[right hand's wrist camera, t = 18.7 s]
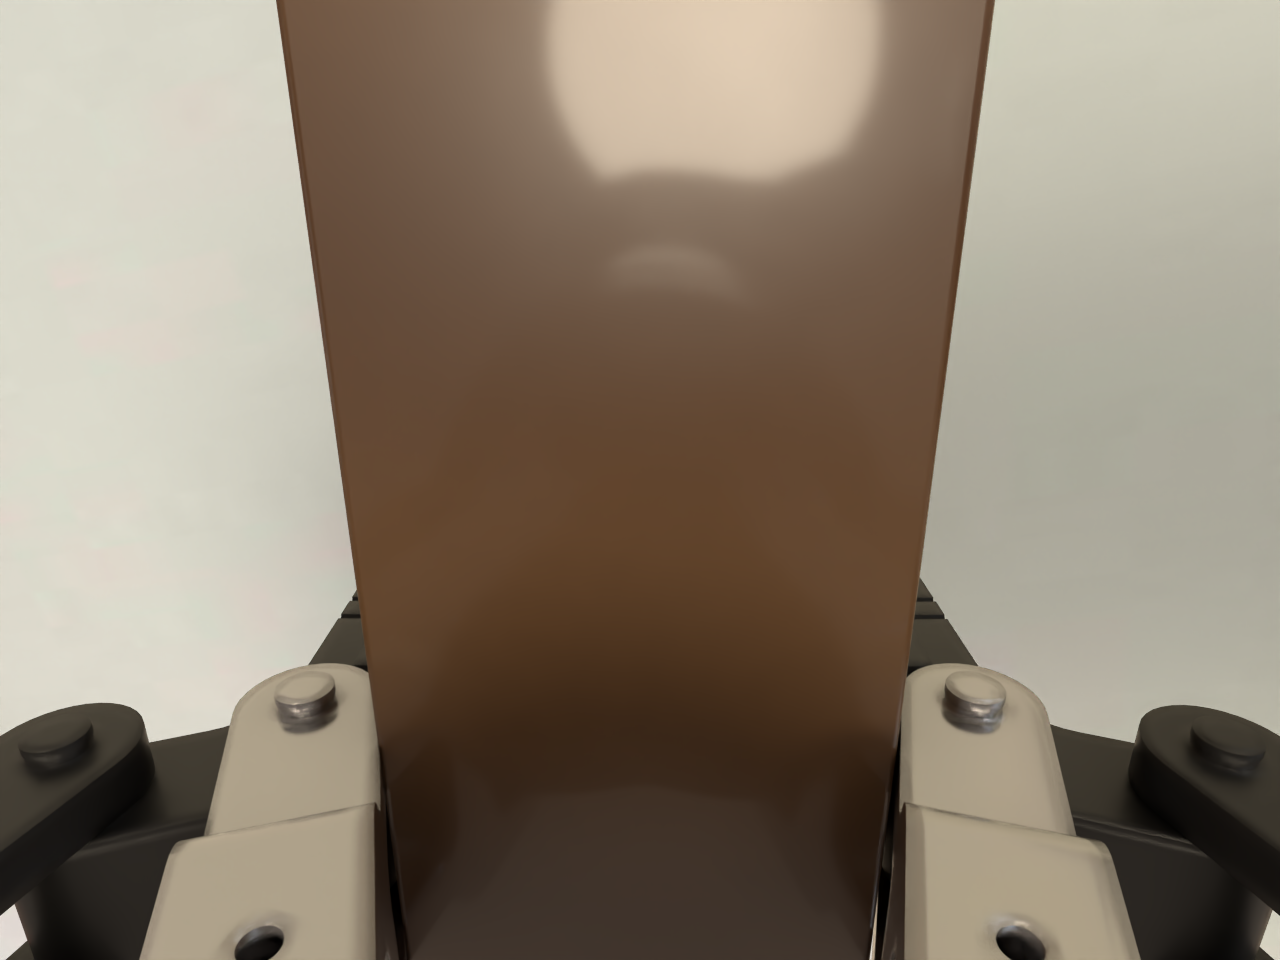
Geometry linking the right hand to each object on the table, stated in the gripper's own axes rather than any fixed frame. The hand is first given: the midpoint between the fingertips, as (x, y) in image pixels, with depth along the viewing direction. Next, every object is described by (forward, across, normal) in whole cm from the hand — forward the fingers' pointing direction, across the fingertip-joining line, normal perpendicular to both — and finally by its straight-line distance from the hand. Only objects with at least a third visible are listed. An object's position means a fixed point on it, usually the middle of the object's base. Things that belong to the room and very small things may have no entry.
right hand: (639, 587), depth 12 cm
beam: (+2, 0, -20) cm, 20 cm away
